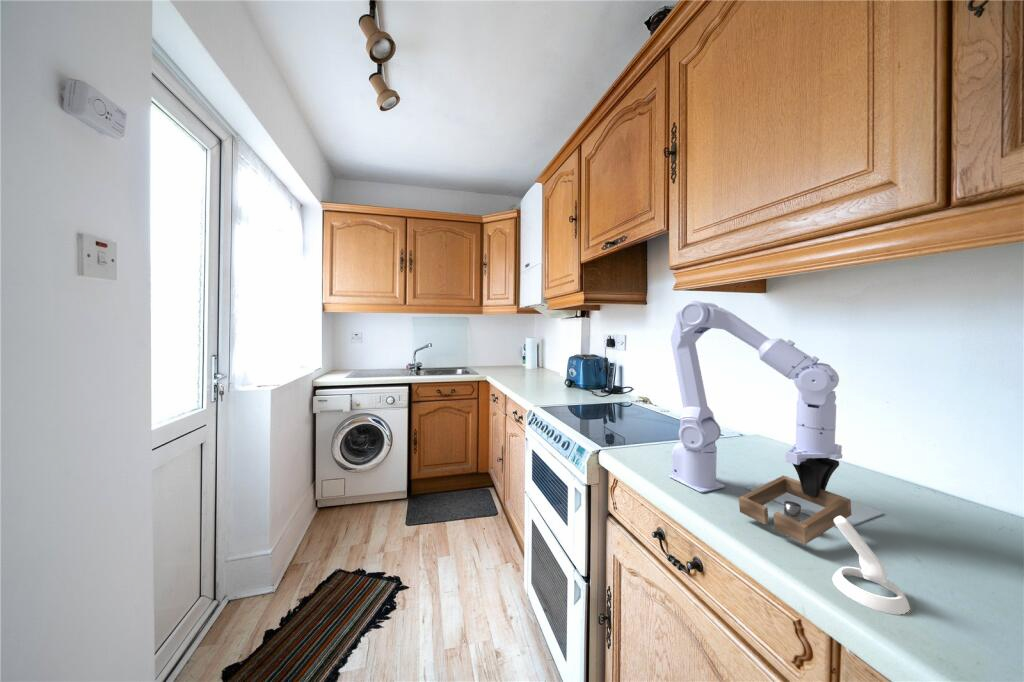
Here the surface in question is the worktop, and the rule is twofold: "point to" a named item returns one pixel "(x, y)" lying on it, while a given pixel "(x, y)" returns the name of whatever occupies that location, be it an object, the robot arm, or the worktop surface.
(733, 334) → the robot arm
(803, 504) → the mat
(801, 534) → the wooden frame
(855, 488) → the worktop surface
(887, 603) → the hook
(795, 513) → the post
